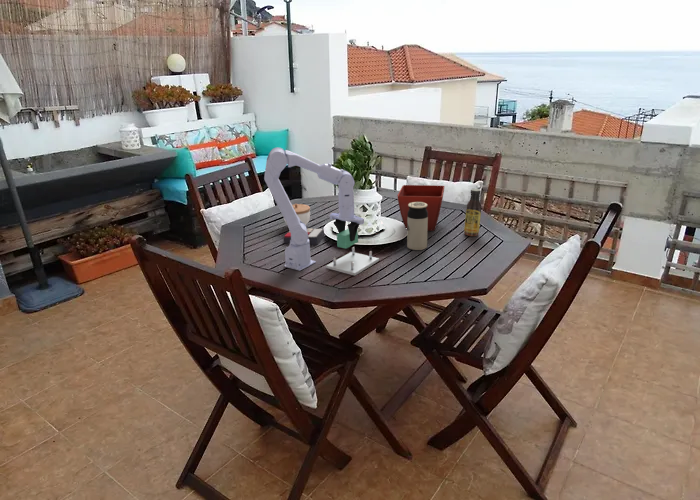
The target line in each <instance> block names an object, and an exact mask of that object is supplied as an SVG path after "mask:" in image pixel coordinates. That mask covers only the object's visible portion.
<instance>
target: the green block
mask: <svg viewBox="0 0 700 500" xmlns="http://www.w3.org/2000/svg"><path fill="white" fill-rule="evenodd" d="M336 243H337V244H336V246H337V248H342V249H349V248H350V247H351V246H353V245H355V244H357V243H359V236H358V230H357V232H356V236H355V240H354V241H350V233H349V229H346V230H344V231H342V232H340V233H338V234H337V233H336Z"/></svg>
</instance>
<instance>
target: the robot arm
mask: <svg viewBox="0 0 700 500" xmlns="http://www.w3.org/2000/svg"><path fill="white" fill-rule="evenodd" d="M295 166H297V167H299V168H301V169H305V170H307V171H310V172H313V173H315V174H316V175H317V178H318V179H321V180H323V181H325V182H327V183H329V184H332V185H334V186H335V185H336V186H337V185H338V193H337V197H338V199H337V201H338V213H335V212H331V213H329V220H335V221H333V224H334V225H335V226H336V228H337V230H338V232H339V233H340V232H342V231H344V230H345V226H346V221H347V222H351V223H350V224H348V225H347V226H348V229H349V233H350V241H354V240H355V236H356V232H357V230H358V227H359V225H362V224H364V218H365V217H360V216H358V215H355V195H354V186H355V183H356V181H355V180H354V179H355V178H354V177H353V175H352V174H351V172H349V171H347V170H344V169H343V168H340V169H339V168H337V167H335V166H333V164H332V163H330V162H327V163H325V162H324V163H321V164H319V163H317V162H315V161H313V160H311V159H309V158H308V157H307V158H306V157H304V156H302V155H301V154H298V153H296V152H293V151H290V150H288V149H285V150H284V148H282V147H274V148H272V149H271V150H270V152H269V153H268V155H267V157H266V163H265V170H264V177H263V179H264V182H265V184H266V186H267V187H268V190H269V191H270V193H271V195H272V197H273V199H274V202H275V204H276V205H277V207H278V209H279V211H280V213H281V215H282V217H283V219H285V220H286V222H287V224H286V225H287V227H288V229H289V231H290V232H291V240H290V244H289V245H288V246H287V247H285V250H284V259H285V264H284V267H285V268H289V269H292V270H295V271H299V272H300V271H302V270H304V269H306V268H308V267H310V266H311V265H314V264H316V260H312V258H311V245H310V243H309V239H308V233H307V229H308V228H307V225H305V224H304V223H303V222H302V221H301V220H300V218H299V217H298V216H297V214H296V212H295V210H294V208H293V206H292V205H293V204H292V202H291V201H290V198H289V196H288V194H287V192H286V191H285V188H284V186H283V185H282V183H281V180H280V179H279V178H280V176H281V172H282V171H283V170H284V169H285V168H286V167H288V168H292V167H295ZM285 220H284V221H285ZM286 222H285V223H286Z"/></svg>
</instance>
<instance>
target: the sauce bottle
mask: <svg viewBox="0 0 700 500" xmlns="http://www.w3.org/2000/svg"><path fill="white" fill-rule="evenodd" d="M481 192H482V190H481V189H480V188H471V189H470V197H469V198H470V199H469V201H468V202H467V204H466V210H465V219H464V227H463V234H464V235H465V236H467V237H477V236H478V235H479V232H480V226H481V219H482V218H481V217H482V203H481V202H480V201H481V200H480V197H481Z"/></svg>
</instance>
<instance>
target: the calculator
mask: <svg viewBox="0 0 700 500" xmlns="http://www.w3.org/2000/svg"><path fill="white" fill-rule="evenodd" d="M307 233H308V239H309V243H310V246H318V245H319V244H320V243H321V242H322V240H323V239H324V238H325V230H324V229H323V228H307ZM282 239H283V244H289V245H290V240H291V232H290V230H289V231H288V232H287V233H286V234H284V236H283V238H282Z"/></svg>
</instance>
